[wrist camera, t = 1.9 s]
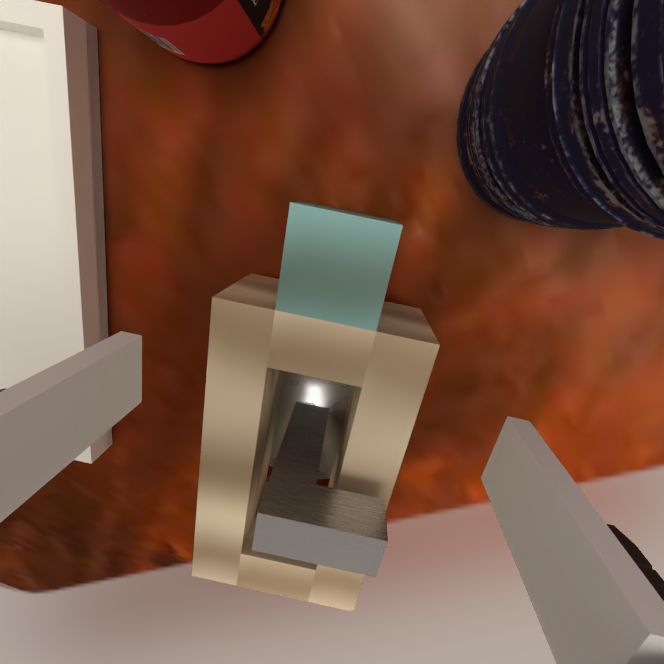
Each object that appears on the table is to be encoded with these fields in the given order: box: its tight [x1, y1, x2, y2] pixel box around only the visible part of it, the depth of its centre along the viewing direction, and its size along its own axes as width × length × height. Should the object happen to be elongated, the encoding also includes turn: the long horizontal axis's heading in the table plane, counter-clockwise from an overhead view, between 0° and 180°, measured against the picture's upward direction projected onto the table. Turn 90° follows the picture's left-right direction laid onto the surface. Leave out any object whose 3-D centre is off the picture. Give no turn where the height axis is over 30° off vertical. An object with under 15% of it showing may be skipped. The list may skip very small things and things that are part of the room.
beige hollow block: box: [192, 202, 440, 612], centre depth 18 cm, size 20×9×5 cm, turn 169°
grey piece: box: [252, 371, 388, 577], centre depth 19 cm, size 9×9×11 cm
